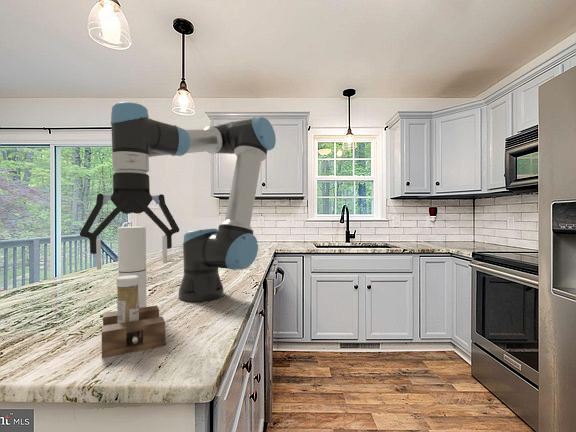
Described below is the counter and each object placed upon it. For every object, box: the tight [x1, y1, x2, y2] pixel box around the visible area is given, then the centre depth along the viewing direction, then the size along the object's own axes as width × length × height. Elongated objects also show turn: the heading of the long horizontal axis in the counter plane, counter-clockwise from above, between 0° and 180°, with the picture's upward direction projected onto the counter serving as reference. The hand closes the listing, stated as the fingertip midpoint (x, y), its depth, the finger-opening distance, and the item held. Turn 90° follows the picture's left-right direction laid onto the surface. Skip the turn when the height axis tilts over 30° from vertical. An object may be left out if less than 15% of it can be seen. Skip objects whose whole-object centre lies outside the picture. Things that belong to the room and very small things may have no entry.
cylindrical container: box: [117, 226, 148, 308], centre depth 90 cm, size 7×7×25 cm
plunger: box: [128, 331, 140, 344], centre depth 67 cm, size 2×6×2 cm, turn 29°
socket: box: [101, 305, 166, 358], centre depth 72 cm, size 12×15×5 cm
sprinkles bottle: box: [116, 275, 139, 338], centre depth 72 cm, size 5×5×14 cm
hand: (133, 265), depth 72 cm, fingers open, 13 cm apart
